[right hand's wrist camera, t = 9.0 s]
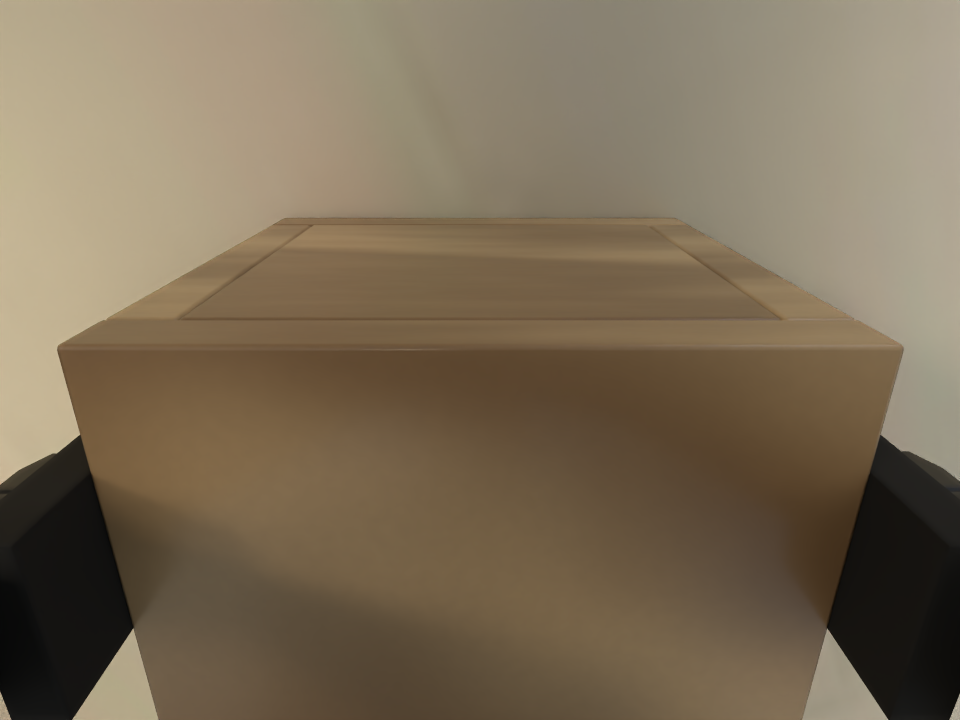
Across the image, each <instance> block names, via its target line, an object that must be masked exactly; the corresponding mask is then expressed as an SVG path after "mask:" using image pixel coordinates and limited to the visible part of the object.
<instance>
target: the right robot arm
mask: <svg viewBox="0 0 960 720" xmlns="http://www.w3.org/2000/svg"><path fill="white" fill-rule="evenodd" d="M827 628H828V630H829V631H830V633H831V634H832V636H833V637H834V639H835V640H836V642H837V643H838V645H839V646H840V648H841V649H842V651H843V652H844V654H845V655H846V657H847V658H848V660H849V661H850V663H851V664H852V666H853V667H854V669H855V670H856V672H857V673H858V675H859V676H860V678H861V679H862V681H863V682H864V684H865V685H866V687H867V688H868V690H869V691H870V693H871V694H872V696H873V697H874V699H875V700H876V702H877V703H878V705H879V706H880V708H881V709H882V711H883V712H884V714H885V715H886V717H887V718H888V720H949V719H950V717H951V714H952V712H953V709H954V707H955V704H956V702H957V699H958V697H959V694H960V481H958V480H957V479H956V478H955V477H953V476H952V475H951V474H949V473H948V472H947V471H946V470H944V469H943V468H941V467H939V466H937V465H935V464H933V463H931V462H929V461H927V460H925V459H923V458H921V457H919V456H917V455H915V454H913V453H911V452H901V451H900V450H899V449H897V448H896V447H895V446H894V445H893V444H891V443H890V442H889V441H888V440H886V439H885V438H884V437H883V436H881V435H880V438H879V441H878V445H877V449H876V452H875V456H874V460H873V463H872V467H871V470H870V474H869V478H868V481H867V485H866V489H865V492H864V496H863V499H862V503H861V507H860V510H859V514H858V518H857V521H856V525H855V529H854V532H853V536H852V539H851V543H850V547H849V550H848V554H847V558H846V561H845V565H844V568H843V572H842V576H841V579H840V583H839V587H838V590H837V594H836V597H835V601H834V605H833V608H832V612H831V616H830V619H829V623H828V627H827ZM132 629H133V624H132V621H131V617H130V613H129V610H128V606H127V602H126V599H125V595H124V591H123V588H122V584H121V581H120V577H119V573H118V570H117V566H116V562H115V559H114V555H113V551H112V548H111V544H110V540H109V537H108V533H107V530H106V526H105V522H104V519H103V515H102V511H101V508H100V504H99V500H98V497H97V493H96V490H95V486H94V482H93V479H92V475H91V471H90V468H89V464H88V460H87V457H86V453H85V449H84V446H83V442H82V439H81V435H79V436H78V437H77V438H76V439H74V440H73V441H72V442H71V443H69V444H68V445H67V446H66V447H65V448H63V449H62V450H61V451H60V452H58V453H57V454H51V455H49V456H47V457H45V458H43V459H41V460H39V461H37V462H35V463H33V464H31V465H29V466H27V467H25V468H23V469H21V470H19V471H17V472H16V473H15V474H14V475H12V476H11V477H10V478H9V479H7V480H6V481H5V482H3V483H2V484H1V485H0V692H1V694H2V697H3V699H4V702H5V704H6V707H7V709H8V712H9V714H10V717H11V720H72V719H73V718H74V716H75V715H76V713H77V712H78V710H79V709H80V707H81V706H82V704H83V703H84V701H85V700H86V698H87V697H88V695H89V694H90V692H91V691H92V689H93V688H94V686H95V685H96V683H97V682H98V680H99V679H100V677H101V676H102V674H103V673H104V671H105V670H106V668H107V667H108V665H109V664H110V662H111V661H112V659H113V658H114V656H115V655H116V653H117V652H118V650H119V649H120V647H121V646H122V644H123V643H124V641H125V640H126V638H127V637H128V635H129V634H130V632H131V631H132Z"/></svg>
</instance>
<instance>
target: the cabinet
mask: <svg viewBox="0 0 960 720" xmlns="http://www.w3.org/2000/svg"><path fill="white" fill-rule="evenodd" d="M57 351H58V355H59V358H60V362H61V366H62V369H63V373H64V377H65V380H66V384H67V388H68V391H69V395H70V398H71V402H72V406H73V409H74V413H75V417H76V420H77V424H78V428H79V431H80V435H81V439H82V442H83V446H84V449H85V453H86V457H87V460H88V464H89V468H90V471H91V475H92V479H93V482H94V486H95V490H96V493H97V497H98V500H99V504H100V508H101V511H102V515H103V519H104V522H105V526H106V530H107V533H108V537H109V540H110V544H111V548H112V551H113V555H114V559H115V562H116V566H117V570H118V573H119V577H120V581H121V584H122V588H123V591H124V595H125V599H126V602H127V606H128V610H129V613H130V617H131V621H132V624H133V628H134V631H135V635H136V639H137V642H138V646H139V650H140V653H141V657H142V661H143V664H144V668H145V672H146V675H147V679H148V682H149V686H150V690H151V693H152V697H153V701H154V704H155V708H156V712H157V715H158V719H159V720H802V717H803V714H804V710H805V706H806V703H807V699H808V695H809V692H810V688H811V685H812V681H813V677H814V674H815V670H816V666H817V663H818V659H819V656H820V652H821V648H822V645H823V641H824V637H825V634H826V630H827V627H828V623H829V619H830V616H831V612H832V608H833V605H834V601H835V597H836V594H837V590H838V587H839V583H840V579H841V576H842V572H843V568H844V565H845V561H846V558H847V554H848V550H849V547H850V543H851V539H852V536H853V532H854V529H855V525H856V521H857V518H858V514H859V510H860V507H861V503H862V499H863V496H864V492H865V489H866V485H867V481H868V478H869V474H870V470H871V467H872V463H873V460H874V456H875V452H876V449H877V445H878V441H879V438H880V434H881V430H882V427H883V423H884V420H885V416H886V412H887V409H888V405H889V401H890V398H891V394H892V391H893V387H894V383H895V380H896V376H897V372H898V369H899V365H900V362H901V358H902V354H903V351H904V350H903V346H902V345H901V344H899V343H898V342H896V341H894V340H892V339H891V338H889V337H887V336H885V335H883V334H882V333H880V332H878V331H876V330H874V329H873V328H871V327H869V326H867V325H866V324H864V323H862V322H860V321H858V320H854V318H852V317H850V316H849V315H847V314H845V313H843V312H841V311H840V310H838V309H836V308H834V307H833V306H831V305H829V304H827V303H825V302H824V301H822V300H820V299H818V298H817V297H815V296H813V295H811V294H809V293H808V292H806V291H804V290H802V289H801V288H799V287H797V286H795V285H793V284H792V283H790V282H788V281H786V280H785V279H783V278H781V277H779V276H777V275H776V274H774V273H772V272H770V271H768V270H767V269H765V268H763V267H761V266H760V265H758V264H756V263H754V262H752V261H751V260H749V259H747V258H745V257H744V256H742V255H740V254H738V253H736V252H735V251H733V250H731V249H729V248H728V247H726V246H724V245H722V244H720V243H719V242H717V241H715V240H713V239H712V238H710V237H708V236H706V235H704V234H703V233H701V232H699V231H697V230H696V229H694V228H692V227H690V226H688V225H687V224H685V223H683V222H681V221H680V220H678V219H676V218H285V219H282V220H281V221H279V222H277V223H275V224H274V225H272V226H270V227H268V228H267V229H265V230H263V231H261V232H260V233H258V234H256V235H254V236H252V237H251V238H249V239H247V240H245V241H244V242H242V243H240V244H238V245H236V246H235V247H233V248H231V249H229V250H228V251H226V252H224V253H222V254H221V255H219V256H217V257H215V258H213V259H212V260H210V261H208V262H206V263H205V264H203V265H201V266H199V267H197V268H196V269H194V270H192V271H190V272H189V273H187V274H185V275H183V276H182V277H180V278H178V279H176V280H174V281H173V282H171V283H169V284H167V285H166V286H164V287H162V288H160V289H158V290H157V291H155V292H153V293H151V294H150V295H148V296H146V297H144V298H143V299H141V300H139V301H137V302H135V303H134V304H132V305H130V306H128V307H127V308H125V309H123V310H121V311H119V312H118V313H116V314H114V315H112V316H111V317H109V318H107V320H103V321H101V322H99V323H97V324H95V325H93V326H92V327H90V328H88V329H86V330H85V331H83V332H81V333H79V334H77V335H76V336H74V337H72V338H70V339H69V340H67V341H65V342H63V343H61V344H60V345H59V346H58V348H57Z"/></svg>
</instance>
